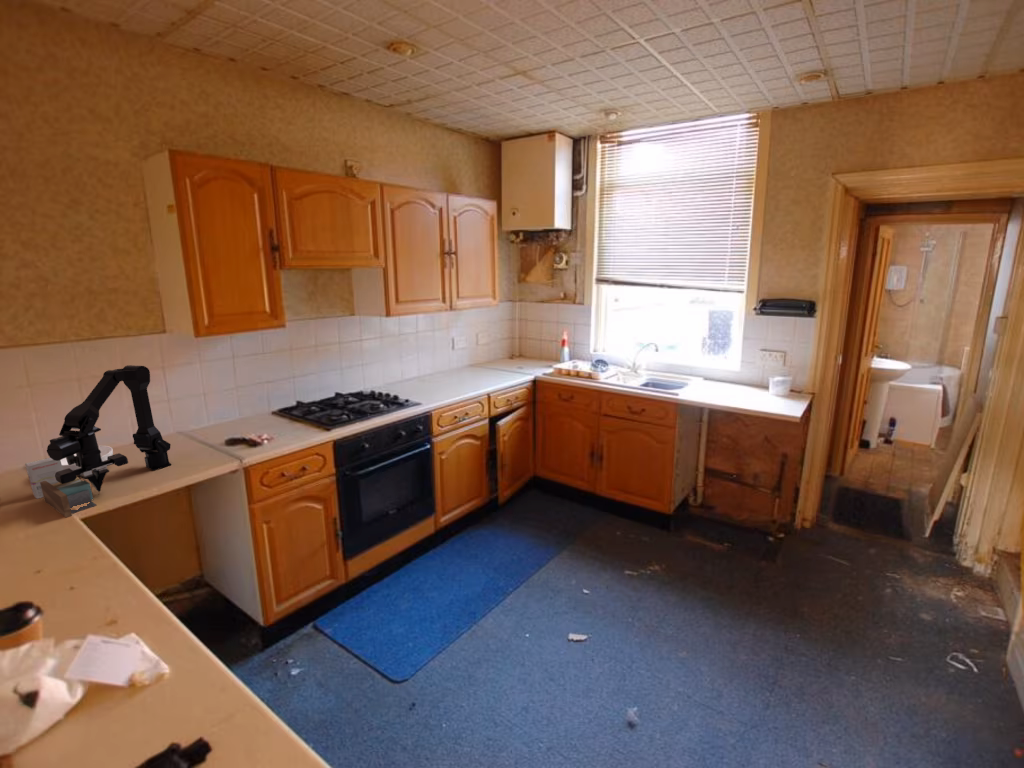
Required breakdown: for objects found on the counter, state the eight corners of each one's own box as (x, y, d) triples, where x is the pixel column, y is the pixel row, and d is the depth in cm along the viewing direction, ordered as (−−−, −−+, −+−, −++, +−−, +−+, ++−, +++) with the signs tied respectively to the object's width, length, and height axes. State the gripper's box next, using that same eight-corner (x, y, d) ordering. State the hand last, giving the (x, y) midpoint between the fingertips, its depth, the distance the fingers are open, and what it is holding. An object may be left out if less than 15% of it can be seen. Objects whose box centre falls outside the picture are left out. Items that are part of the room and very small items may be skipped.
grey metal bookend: (91, 501, 176) (88, 489, 175) (96, 505, 174) (93, 492, 173) (64, 510, 171) (61, 497, 170) (70, 514, 168) (67, 501, 167)
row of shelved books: (80, 491, 184) (77, 476, 182) (87, 496, 180) (84, 481, 179) (51, 500, 177) (47, 485, 176) (58, 505, 174) (54, 490, 173)
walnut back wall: (50, 500, 178) (45, 480, 176) (71, 515, 167) (66, 495, 166) (44, 501, 177) (39, 482, 175) (66, 517, 166) (60, 496, 164)
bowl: (103, 477, 195) (99, 461, 193) (39, 484, 190) (34, 468, 188) (124, 457, 213) (121, 443, 212) (66, 463, 208) (62, 448, 206)
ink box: (64, 486, 188) (56, 454, 185) (68, 490, 185) (60, 458, 182) (32, 495, 182) (24, 462, 179) (36, 499, 179) (27, 466, 176)
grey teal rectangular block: (88, 496, 180) (84, 480, 178) (93, 499, 178) (89, 483, 176) (59, 506, 173) (54, 489, 172) (63, 509, 171) (59, 492, 170)
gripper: (110, 434, 188) (120, 475, 192) (43, 452, 173) (55, 496, 177) (123, 440, 182) (133, 482, 186) (55, 460, 167) (68, 505, 171)
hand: (98, 491), depth 180 cm, fingers closed
